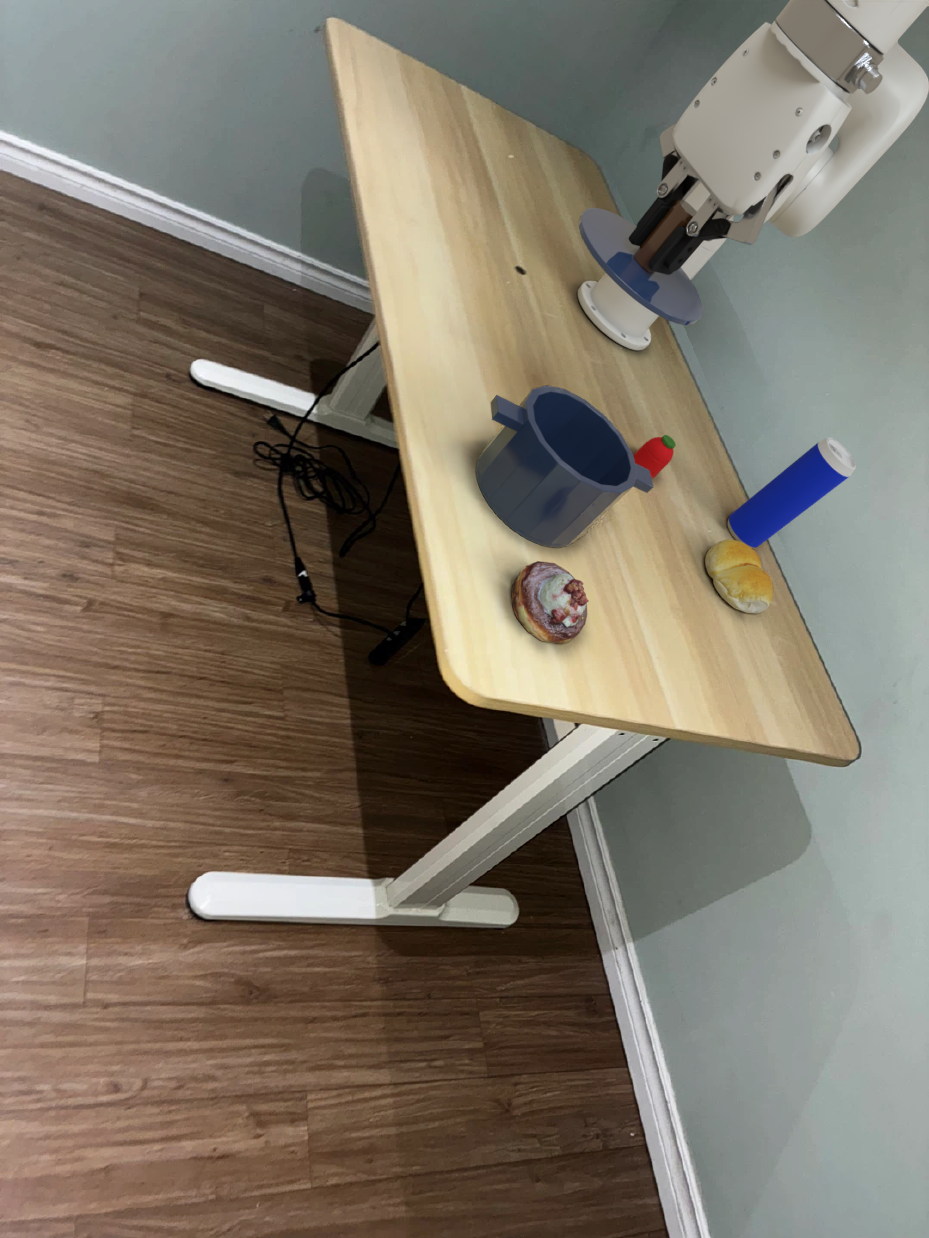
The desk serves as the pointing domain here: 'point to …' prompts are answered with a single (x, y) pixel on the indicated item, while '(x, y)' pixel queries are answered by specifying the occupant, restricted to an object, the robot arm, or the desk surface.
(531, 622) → the pastry
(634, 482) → the pot
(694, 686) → the desk surface
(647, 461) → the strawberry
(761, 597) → the bread roll
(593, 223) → the lid
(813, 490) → the beverage can
